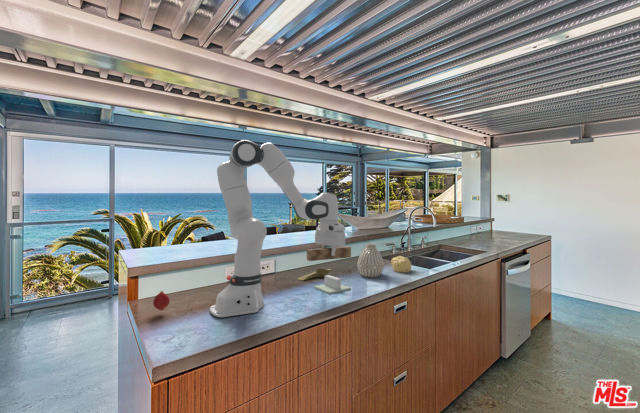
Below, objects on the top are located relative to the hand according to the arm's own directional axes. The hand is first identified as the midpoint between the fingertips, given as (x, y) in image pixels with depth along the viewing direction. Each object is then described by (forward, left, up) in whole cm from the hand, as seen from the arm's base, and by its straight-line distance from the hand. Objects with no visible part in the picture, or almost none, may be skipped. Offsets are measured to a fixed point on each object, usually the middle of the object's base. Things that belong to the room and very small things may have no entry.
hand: (329, 254), depth 142 cm
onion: (-69, +24, -20) cm, 75 cm away
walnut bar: (0, 0, -2) cm, 2 cm away
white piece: (+8, +7, -20) cm, 22 cm away
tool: (+15, +28, -21) cm, 38 cm away
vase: (+43, +14, -20) cm, 49 cm away
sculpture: (+67, +10, -20) cm, 71 cm away
